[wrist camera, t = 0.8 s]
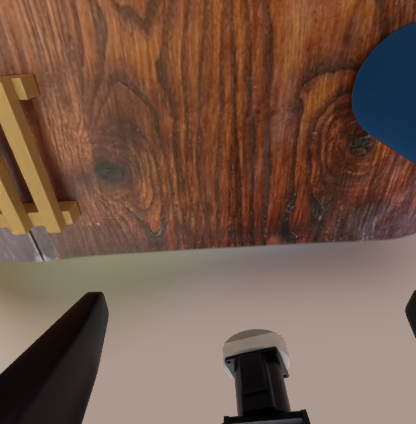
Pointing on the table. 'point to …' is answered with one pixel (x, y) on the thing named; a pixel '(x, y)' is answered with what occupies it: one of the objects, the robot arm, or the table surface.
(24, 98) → the rack
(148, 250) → the table surface
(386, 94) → the beverage can
